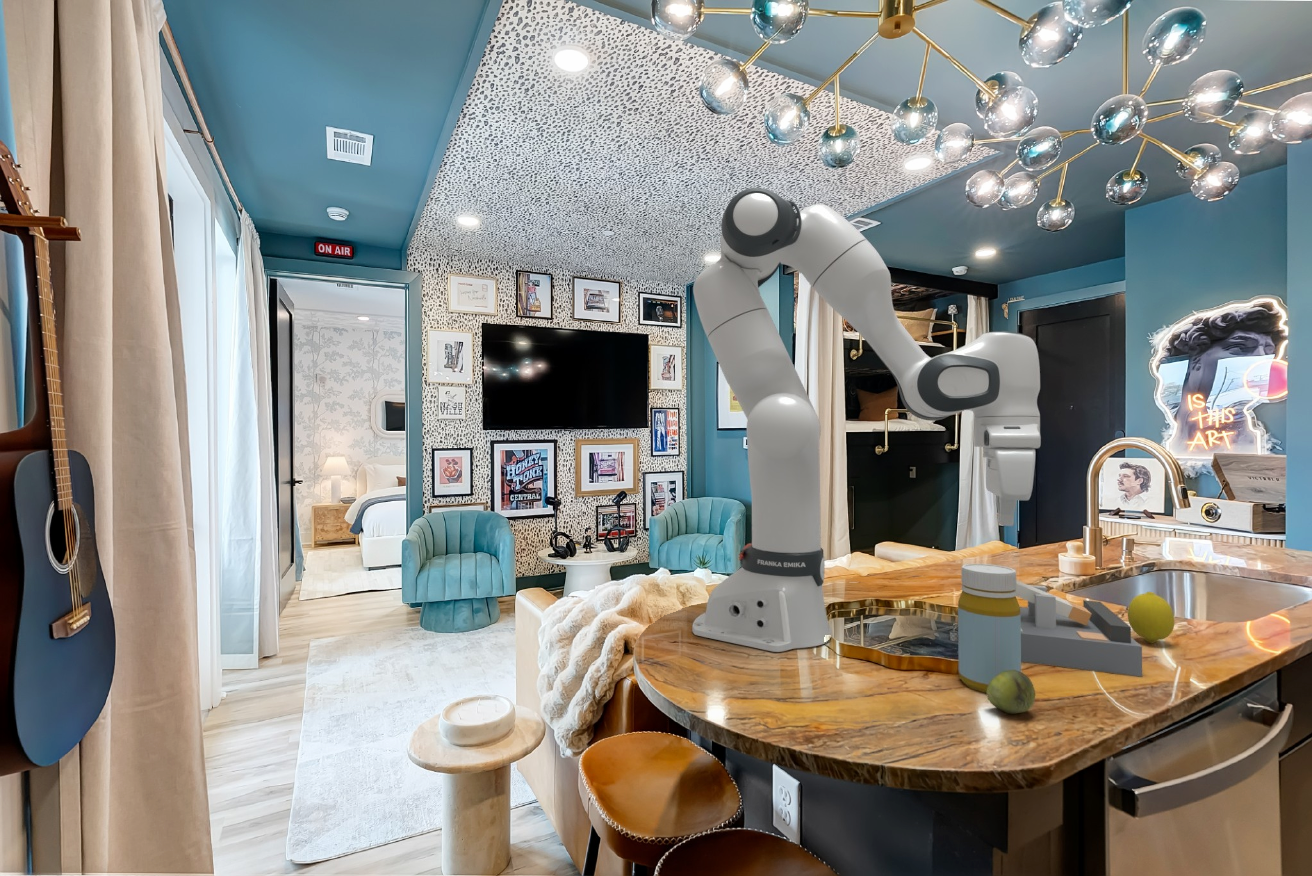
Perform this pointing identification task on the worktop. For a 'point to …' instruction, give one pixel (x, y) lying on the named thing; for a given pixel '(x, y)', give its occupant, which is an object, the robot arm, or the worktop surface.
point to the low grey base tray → (1078, 638)
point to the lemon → (1151, 617)
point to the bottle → (988, 624)
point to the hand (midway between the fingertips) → (1005, 524)
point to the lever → (1062, 605)
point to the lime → (1011, 692)
